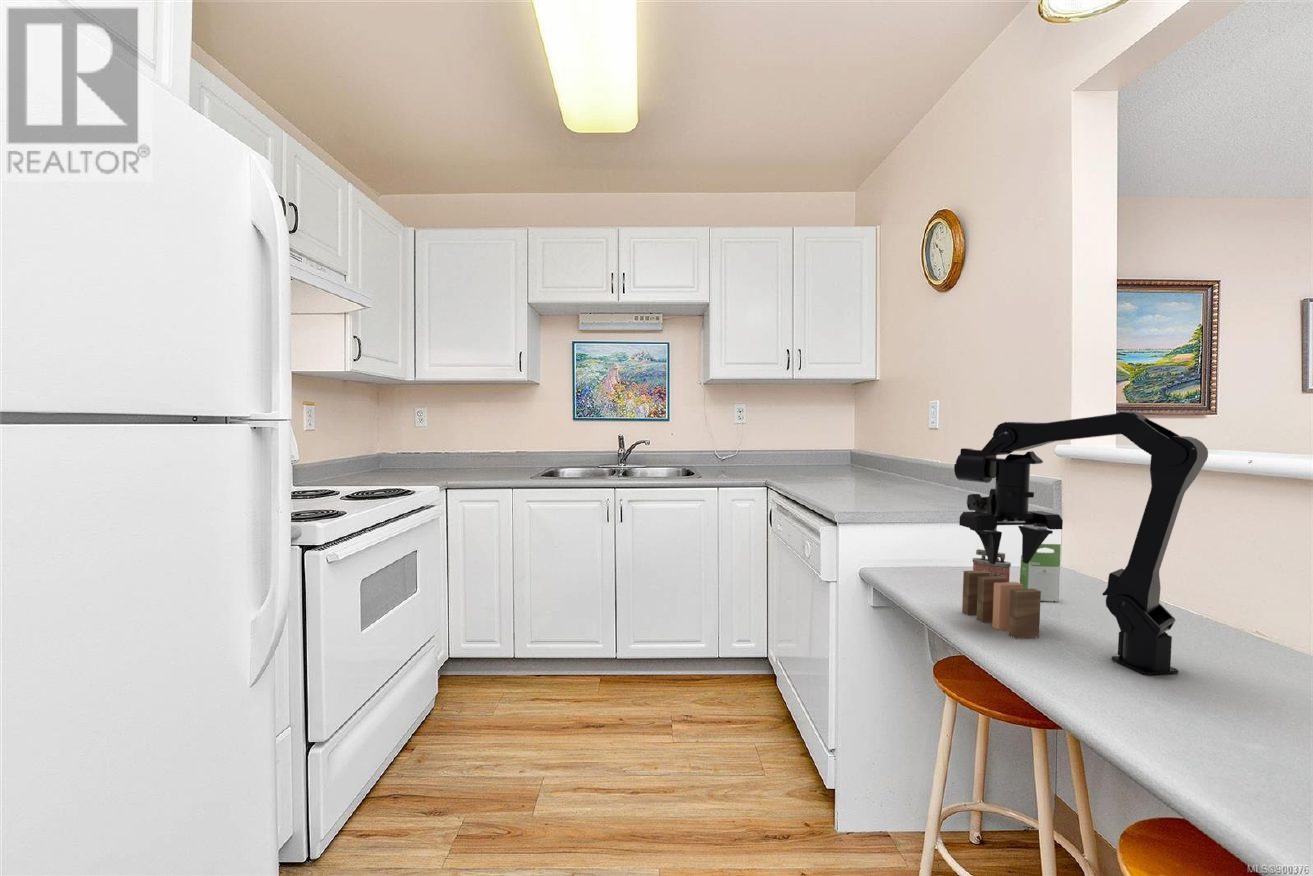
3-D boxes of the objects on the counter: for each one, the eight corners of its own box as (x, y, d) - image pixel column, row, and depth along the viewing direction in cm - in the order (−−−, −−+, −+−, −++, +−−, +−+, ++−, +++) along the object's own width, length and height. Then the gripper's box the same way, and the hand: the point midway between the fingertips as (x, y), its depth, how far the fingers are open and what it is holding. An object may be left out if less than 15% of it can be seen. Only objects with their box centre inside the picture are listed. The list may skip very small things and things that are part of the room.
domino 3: (992, 627, 119) (994, 582, 119) (1014, 626, 120) (1016, 582, 119) (998, 630, 117) (1000, 585, 117) (1021, 629, 118) (1023, 584, 118)
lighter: (1009, 592, 143) (1011, 551, 143) (1009, 595, 140) (1011, 554, 140) (972, 586, 148) (973, 547, 147) (970, 590, 145) (972, 549, 144)
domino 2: (1004, 621, 122) (1006, 578, 122) (982, 622, 122) (984, 579, 121) (998, 618, 124) (999, 576, 124) (976, 619, 123) (978, 576, 123)
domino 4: (1039, 637, 114) (1040, 591, 113) (1015, 639, 113) (1017, 592, 112) (1031, 634, 115) (1033, 588, 115) (1008, 635, 115) (1010, 589, 114)
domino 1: (988, 614, 127) (990, 572, 127) (967, 615, 126) (969, 573, 126) (983, 611, 129) (984, 570, 128) (962, 612, 128) (963, 571, 128)
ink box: (1049, 597, 140) (1052, 540, 139) (1059, 602, 136) (1061, 544, 135) (1018, 596, 141) (1020, 539, 140) (1027, 601, 137) (1029, 543, 136)
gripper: (1022, 480, 127) (1019, 553, 127) (943, 480, 124) (940, 555, 124) (1066, 487, 116) (1063, 566, 116) (980, 487, 113) (977, 568, 114)
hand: (1008, 563), depth 118 cm, fingers open, 7 cm apart
